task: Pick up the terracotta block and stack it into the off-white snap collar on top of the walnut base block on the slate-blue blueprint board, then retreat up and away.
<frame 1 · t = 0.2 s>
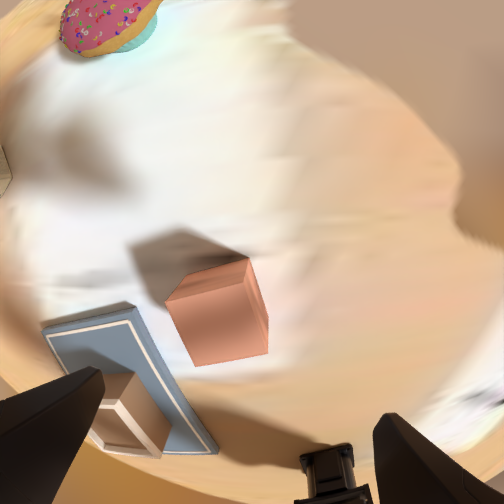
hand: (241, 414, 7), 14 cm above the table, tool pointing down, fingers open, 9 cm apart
cupcake: (134, 29, 16), on the table
box: (1, 173, 20), on the table
terracotta block: (227, 296, 21), on the table
blueprint board: (128, 396, 25), on the table
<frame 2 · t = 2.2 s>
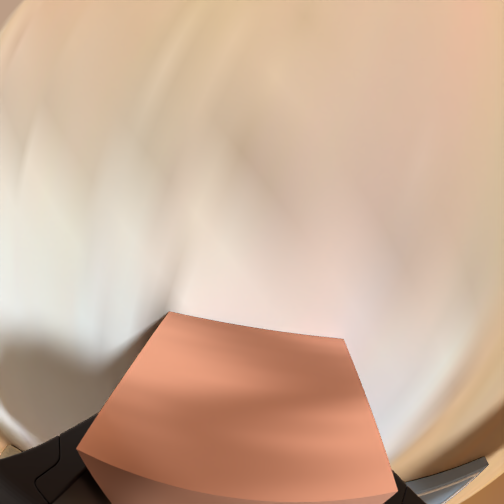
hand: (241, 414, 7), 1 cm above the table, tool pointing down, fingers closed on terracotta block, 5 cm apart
terracotta block: (244, 391, 8), on the table, touching gripper
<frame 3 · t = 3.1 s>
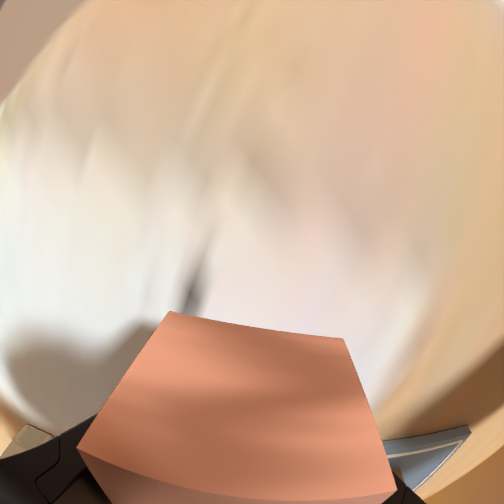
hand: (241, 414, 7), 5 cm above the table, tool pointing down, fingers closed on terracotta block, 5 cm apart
box: (49, 439, 18), on the table
terracotta block: (244, 391, 8), point 4 cm above the table, touching gripper
blueprint board: (333, 486, 16), on the table
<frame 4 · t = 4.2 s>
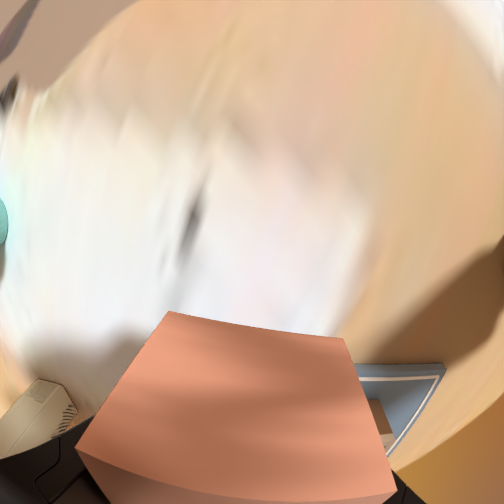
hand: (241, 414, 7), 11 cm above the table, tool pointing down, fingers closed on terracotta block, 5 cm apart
box: (58, 393, 23), on the table
terracotta block: (244, 391, 8), point 10 cm above the table, touching gripper
blueprint board: (319, 421, 21), on the table
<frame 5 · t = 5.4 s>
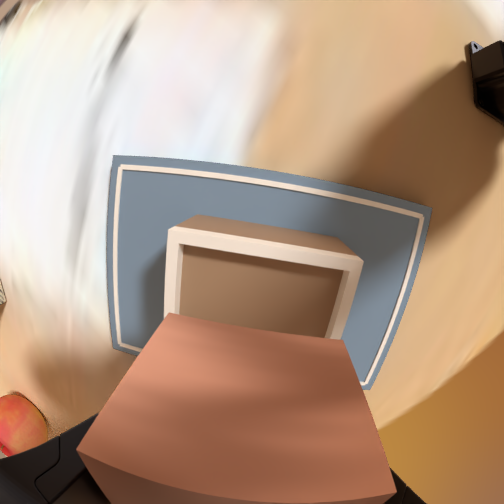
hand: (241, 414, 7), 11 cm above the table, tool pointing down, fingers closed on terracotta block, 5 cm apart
terracotta block: (244, 392, 8), point 10 cm above the table, touching gripper
blueprint board: (257, 285, 17), on the table
apple: (34, 407, 25), on the table
when the fingers open (8 cm above the table, at t = 6.3 s): terracotta block drops 2 cm, resting on blueprint board.
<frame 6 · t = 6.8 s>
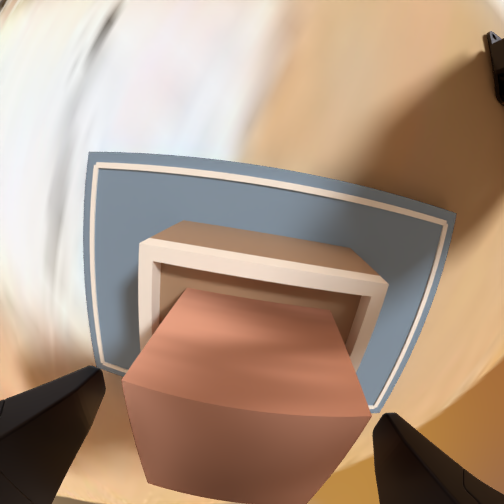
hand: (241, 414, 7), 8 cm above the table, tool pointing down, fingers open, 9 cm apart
terracotta block: (248, 358, 10), point 5 cm above the table, touching blueprint board
blueprint board: (255, 302, 15), on the table
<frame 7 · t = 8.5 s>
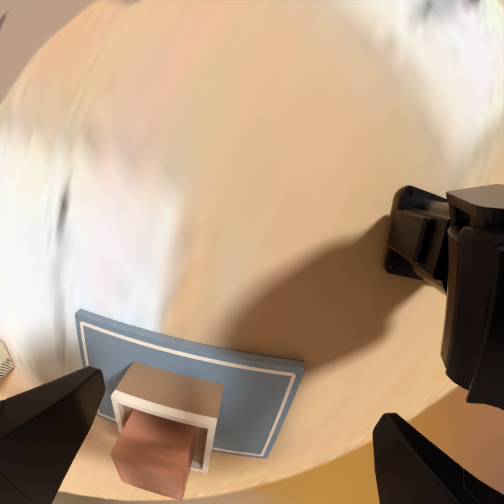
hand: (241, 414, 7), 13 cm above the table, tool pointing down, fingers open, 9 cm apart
box: (2, 350, 25), on the table
terracotta block: (164, 434, 18), point 5 cm above the table, touching blueprint board
blueprint board: (178, 396, 23), on the table
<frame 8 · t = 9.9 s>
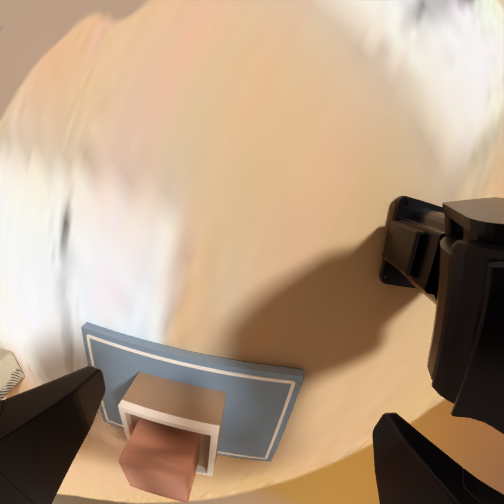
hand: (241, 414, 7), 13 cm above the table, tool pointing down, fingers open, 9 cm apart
box: (12, 360, 26), on the table
terracotta block: (170, 440, 19), point 5 cm above the table, touching blueprint board
blueprint board: (184, 404, 24), on the table
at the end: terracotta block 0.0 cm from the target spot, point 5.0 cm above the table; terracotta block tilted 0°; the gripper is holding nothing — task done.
